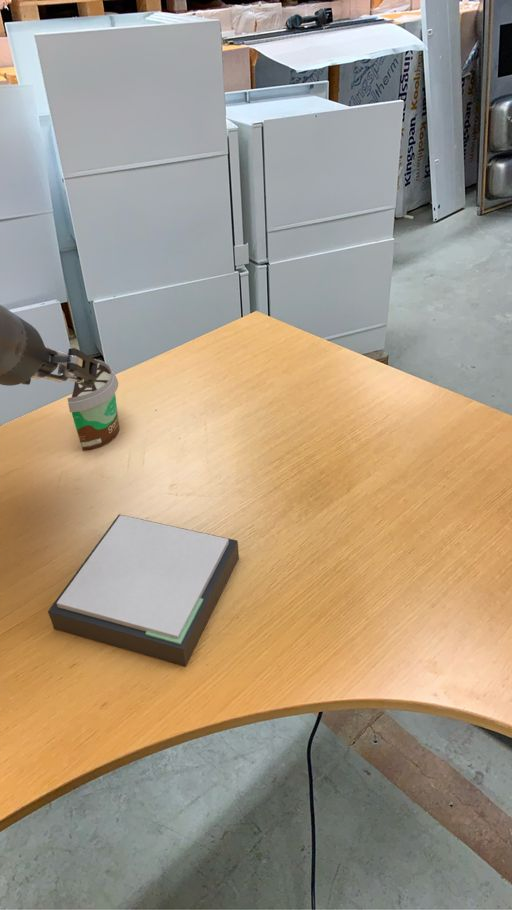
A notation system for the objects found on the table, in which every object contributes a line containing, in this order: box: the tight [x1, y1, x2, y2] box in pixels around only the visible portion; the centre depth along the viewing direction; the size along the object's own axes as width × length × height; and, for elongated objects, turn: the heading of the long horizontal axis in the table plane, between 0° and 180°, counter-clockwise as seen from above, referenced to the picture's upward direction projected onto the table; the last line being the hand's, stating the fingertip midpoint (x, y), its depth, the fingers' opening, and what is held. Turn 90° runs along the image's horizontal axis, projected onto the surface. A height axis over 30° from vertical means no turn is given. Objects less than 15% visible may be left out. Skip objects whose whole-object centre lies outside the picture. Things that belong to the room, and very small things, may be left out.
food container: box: [66, 358, 120, 452], centre depth 99 cm, size 12×6×10 cm, turn 4°
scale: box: [47, 514, 240, 667], centre depth 75 cm, size 16×16×4 cm
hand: (59, 378), depth 84 cm, fingers open, 8 cm apart
